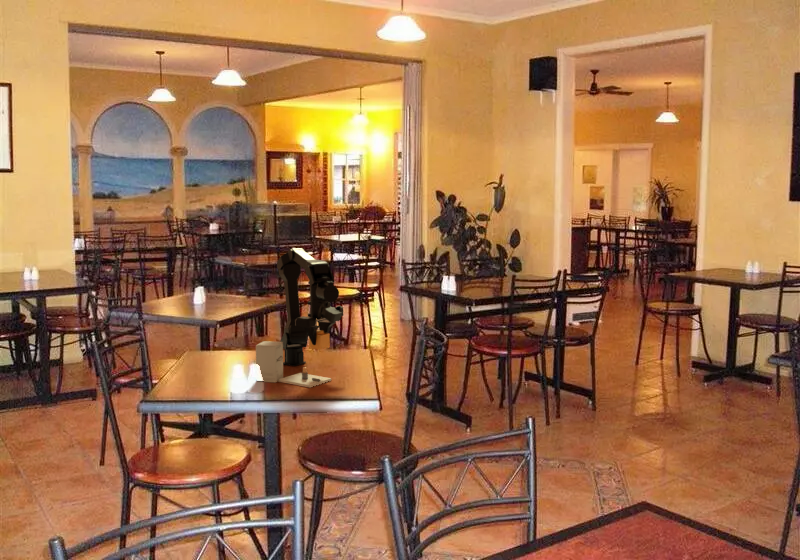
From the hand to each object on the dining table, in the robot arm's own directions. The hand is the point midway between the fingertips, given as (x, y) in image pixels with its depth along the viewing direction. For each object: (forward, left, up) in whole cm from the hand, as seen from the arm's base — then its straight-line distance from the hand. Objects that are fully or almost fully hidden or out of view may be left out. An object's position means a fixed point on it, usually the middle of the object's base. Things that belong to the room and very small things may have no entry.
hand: (319, 343), depth 283 cm
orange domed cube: (0, 0, -2) cm, 2 cm away
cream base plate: (0, -7, -12) cm, 14 cm away
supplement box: (-12, -12, -12) cm, 21 cm away
